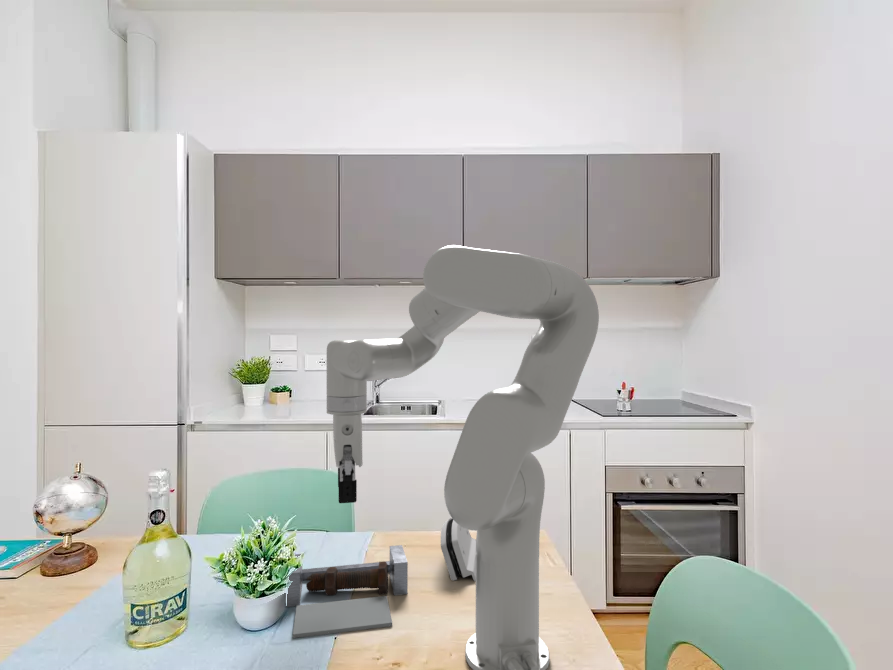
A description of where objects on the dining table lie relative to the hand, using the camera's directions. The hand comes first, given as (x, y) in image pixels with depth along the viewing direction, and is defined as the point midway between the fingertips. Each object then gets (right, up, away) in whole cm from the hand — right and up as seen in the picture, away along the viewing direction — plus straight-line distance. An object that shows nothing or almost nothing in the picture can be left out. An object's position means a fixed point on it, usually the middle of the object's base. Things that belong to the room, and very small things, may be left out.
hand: (346, 494), depth 99 cm
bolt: (0, -19, 0) cm, 19 cm away
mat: (+1, -18, -10) cm, 21 cm away
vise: (0, -18, +2) cm, 18 cm away
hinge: (+22, -19, +12) cm, 31 cm away
